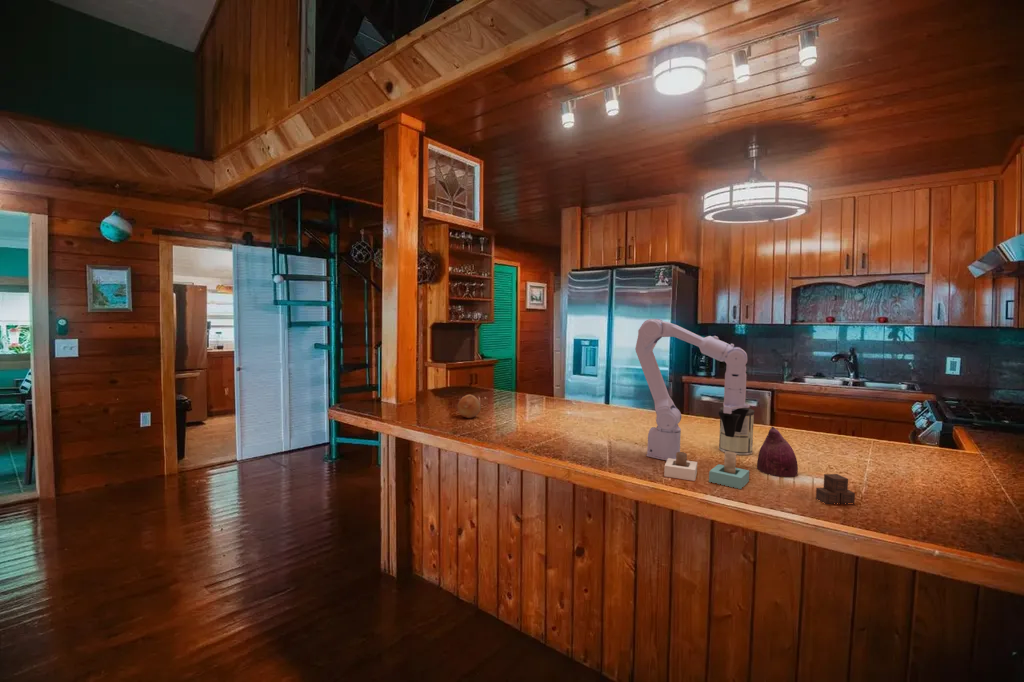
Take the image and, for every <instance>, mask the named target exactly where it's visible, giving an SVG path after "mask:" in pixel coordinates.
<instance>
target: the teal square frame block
mask: <svg viewBox="0 0 1024 682" xmlns="http://www.w3.org/2000/svg"><path fill="white" fill-rule="evenodd" d="M749 481H750V470H748V469H745V468H739V467H736V471H735V474H730V473H726V472H724V464H719V463H718V464H717V465H715V466H713V468H711V469H710V470H709V472H708V483H711V482H712V483H713V484H715V483H717V484H716V485H720V484H721V485H720V486H724V485H725V487H728V486H729V488H733V487H734V488H733V489H737V488H738V490H742V489H743V488H744V487H745V486H746V485H747V484H749ZM742 487H743V488H742Z"/></svg>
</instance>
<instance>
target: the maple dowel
mask: <svg viewBox="0 0 1024 682" xmlns="http://www.w3.org/2000/svg"><path fill="white" fill-rule="evenodd" d="M723 463H724V464H723V465H724V472H726V473H730V474H735V471H736V468H737V466H736V464H737V455H736V453H735V452H731V451H725V452H724V462H723Z"/></svg>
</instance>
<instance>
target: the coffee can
mask: <svg viewBox="0 0 1024 682" xmlns="http://www.w3.org/2000/svg"><path fill="white" fill-rule="evenodd" d="M748 409H749V412H748V413H747V415H746V417H745V419H744V423H743V426H742V430H741V432H735V434H734V437H728V436H725V432H724V426H723V422H722V420H721V418H719V443H718V445H719V446H718V450H719V451H720V452H723V453H725V451H731V452H735V453H736V456H749V455H752V454H753V445H754V444H753V441H754V440H753V439H754V438H753V437H754V422H755V421H754V420H755V419H754V418H755V415H754V414H755V410H754V409H752V408H750V407H749V408H748ZM719 410H720V411H724V406H721V407H719Z"/></svg>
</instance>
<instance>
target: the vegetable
mask: <svg viewBox="0 0 1024 682" xmlns="http://www.w3.org/2000/svg"><path fill="white" fill-rule="evenodd" d="M756 462H757V463H756V468H757V469H758V470H759V472H760V473H763V474H765V475H769V474H770V475H769V476H774V475H775V477H782V478H787V477H788V478H794V477H797V475H798V471H799V466H798V460H797V457H796V454H795V451H794V449H793V447H792V446H791V445H790V443H789V442H788V441H787V440H786V438H784V436H783V435H782V433H780V431H779V430H778V429H777V428H775V427H774V426H771V428H770V429H768V433H767V435H766V437H765V440H763V443H762V445H761V446H760V448H759V451H758V455H757V461H756Z"/></svg>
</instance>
